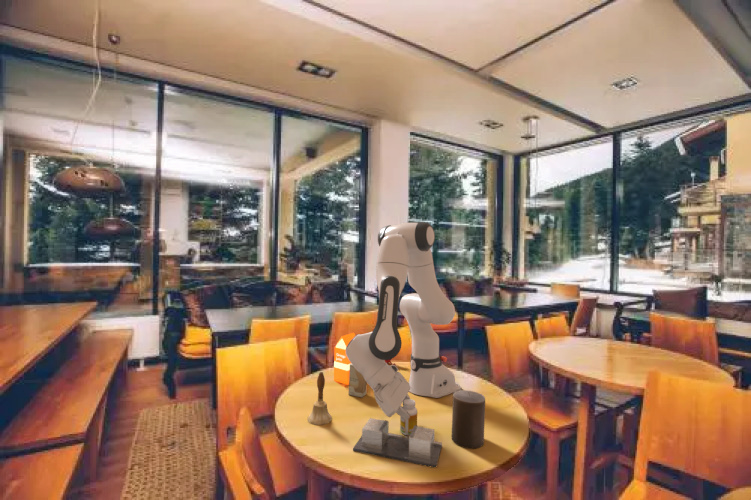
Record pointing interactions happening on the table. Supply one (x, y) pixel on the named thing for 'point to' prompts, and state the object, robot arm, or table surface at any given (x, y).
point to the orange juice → (342, 359)
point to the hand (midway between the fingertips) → (410, 413)
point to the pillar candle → (468, 419)
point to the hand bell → (320, 405)
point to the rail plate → (399, 443)
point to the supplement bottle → (408, 425)
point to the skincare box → (356, 383)
